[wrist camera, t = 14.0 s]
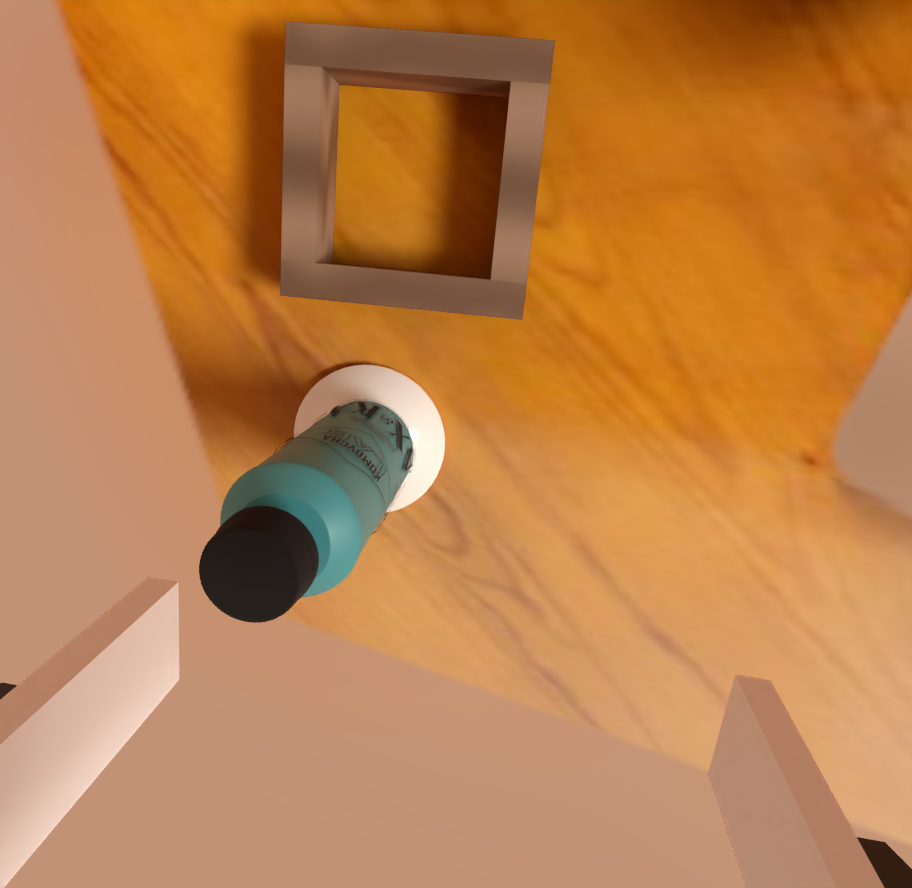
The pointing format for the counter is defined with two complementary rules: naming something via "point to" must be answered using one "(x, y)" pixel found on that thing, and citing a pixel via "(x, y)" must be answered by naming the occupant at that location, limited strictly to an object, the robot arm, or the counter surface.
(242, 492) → the beverage bottle
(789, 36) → the counter surface
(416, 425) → the coaster
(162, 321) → the counter surface
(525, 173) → the holder
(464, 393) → the counter surface
